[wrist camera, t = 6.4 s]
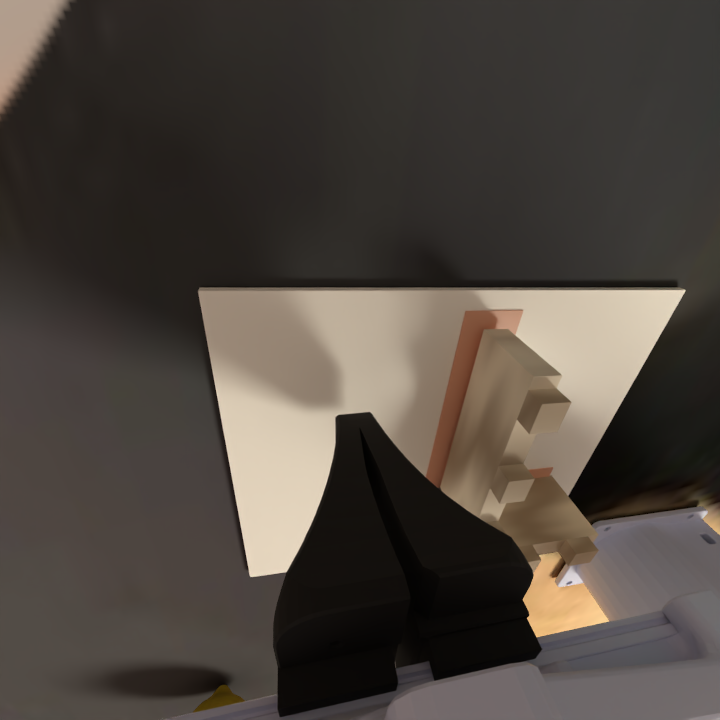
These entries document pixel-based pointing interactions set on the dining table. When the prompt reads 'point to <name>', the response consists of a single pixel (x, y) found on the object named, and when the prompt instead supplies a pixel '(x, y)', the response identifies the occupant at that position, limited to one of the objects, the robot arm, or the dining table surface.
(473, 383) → the beige toothed plate
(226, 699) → the lemon
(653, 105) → the dining table surface
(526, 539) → the fixed fence section
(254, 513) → the card
